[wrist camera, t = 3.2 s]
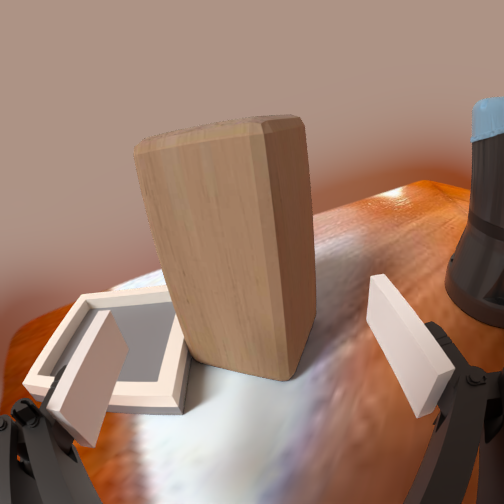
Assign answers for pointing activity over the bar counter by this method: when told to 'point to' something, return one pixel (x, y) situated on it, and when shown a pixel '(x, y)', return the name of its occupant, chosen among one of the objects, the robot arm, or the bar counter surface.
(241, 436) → the bar counter surface
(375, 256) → the bar counter surface
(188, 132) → the wooden block
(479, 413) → the robot arm
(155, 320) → the locating plate
